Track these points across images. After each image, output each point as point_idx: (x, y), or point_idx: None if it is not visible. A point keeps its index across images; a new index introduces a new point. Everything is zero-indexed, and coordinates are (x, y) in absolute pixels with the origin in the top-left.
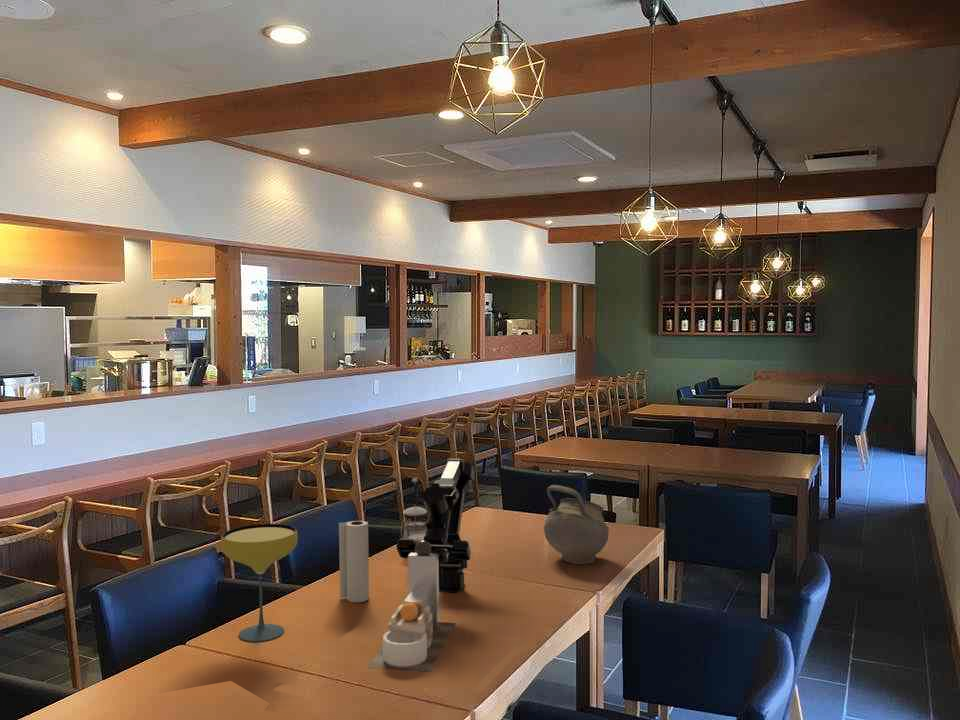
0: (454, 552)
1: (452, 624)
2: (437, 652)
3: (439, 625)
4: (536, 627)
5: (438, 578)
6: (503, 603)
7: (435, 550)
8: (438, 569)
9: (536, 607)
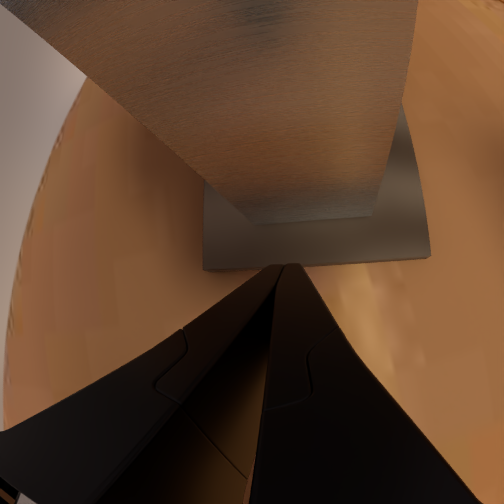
0: (6, 497)
1: (209, 253)
2: None
3: (255, 231)
4: (31, 308)
5: (150, 125)
6: None
7: (61, 478)
8: (105, 88)
9: None
